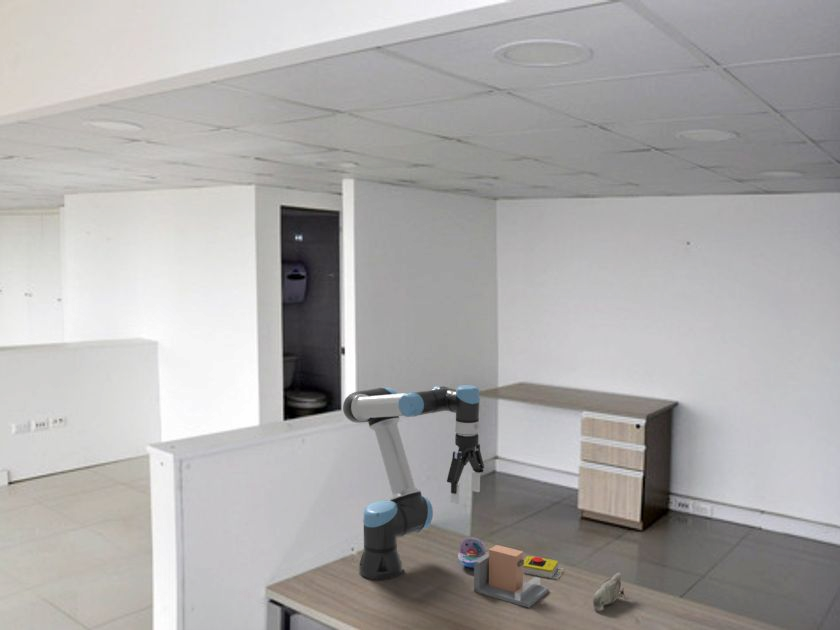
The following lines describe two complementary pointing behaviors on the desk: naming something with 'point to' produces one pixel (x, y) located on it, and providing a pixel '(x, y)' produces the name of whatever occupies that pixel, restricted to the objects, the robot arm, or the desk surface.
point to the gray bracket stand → (483, 587)
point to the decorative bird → (608, 592)
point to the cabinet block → (506, 568)
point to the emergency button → (541, 567)
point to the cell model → (471, 551)
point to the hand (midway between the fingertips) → (465, 496)
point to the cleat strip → (527, 589)
